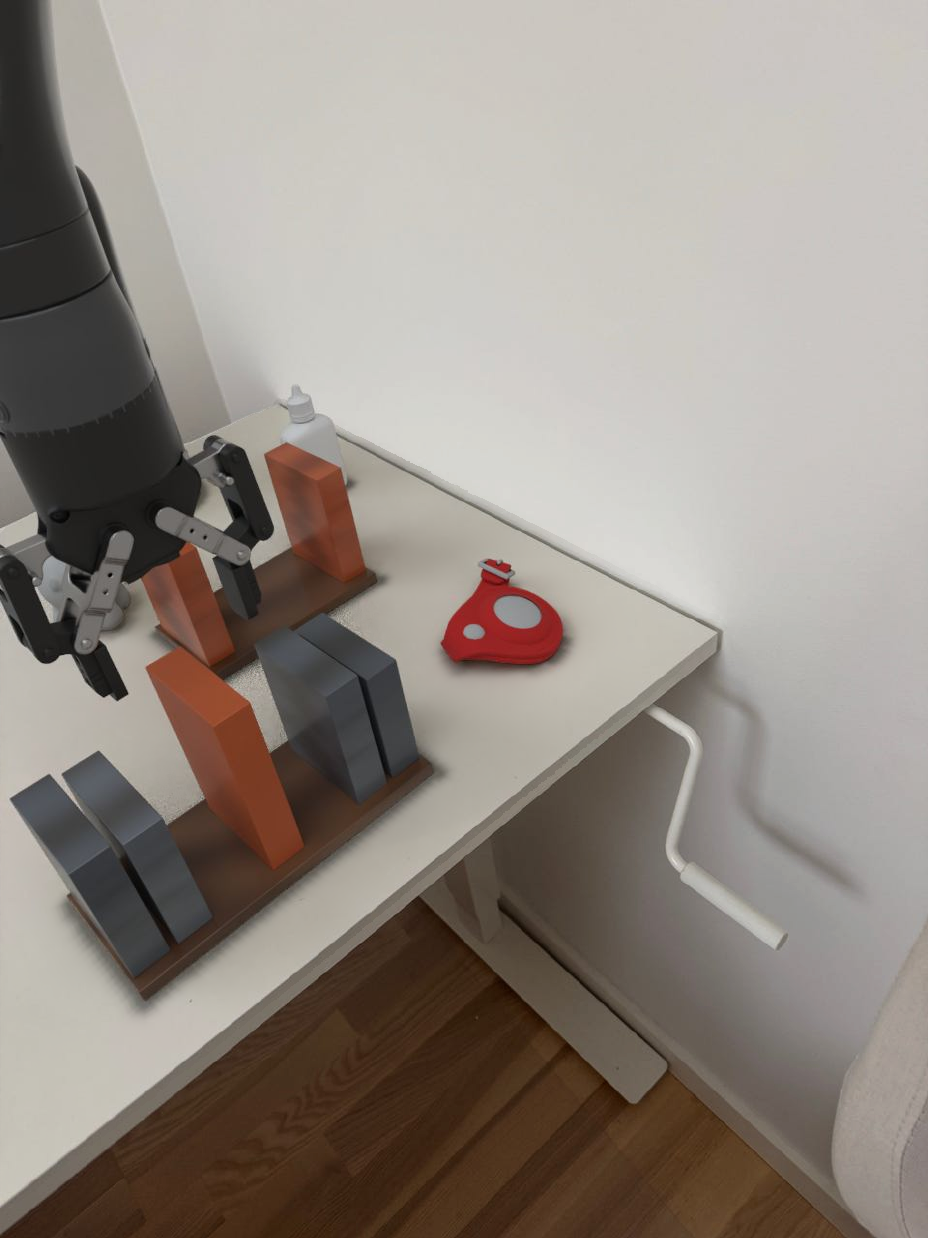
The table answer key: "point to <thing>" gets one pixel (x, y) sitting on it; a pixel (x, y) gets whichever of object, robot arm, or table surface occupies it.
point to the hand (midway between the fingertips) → (182, 651)
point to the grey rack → (201, 841)
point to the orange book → (227, 755)
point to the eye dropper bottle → (311, 430)
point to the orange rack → (268, 570)
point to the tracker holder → (502, 622)
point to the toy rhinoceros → (53, 593)
